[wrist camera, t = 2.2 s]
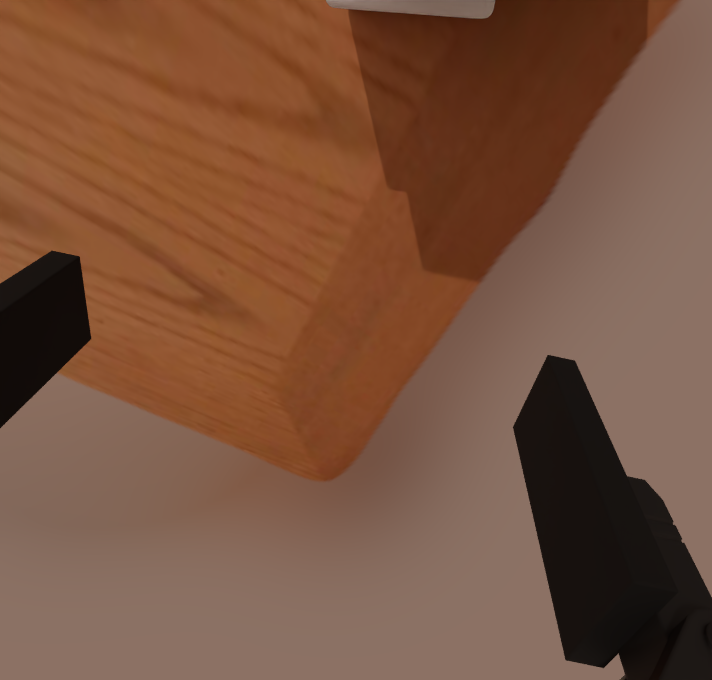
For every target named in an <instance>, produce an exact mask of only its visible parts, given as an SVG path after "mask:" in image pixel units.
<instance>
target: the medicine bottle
mask: <svg viewBox="0 0 712 680" xmlns="http://www.w3.org/2000/svg"><path fill="white" fill-rule="evenodd" d="M326 2H327V3H328V5H329V6H331V7H333V8H342V9H353V10H366V11H380V12H393V13H406V14H420V15H433V16H447V17H460V18H477V19H484V18H488V17H489V16H490V15H491V14H492V12H493V10H494V5H495V0H326Z"/></svg>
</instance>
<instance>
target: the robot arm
mask: <svg viewBox="0 0 712 680" xmlns="http://www.w3.org/2000/svg"><path fill="white" fill-rule="evenodd" d="M90 340H91V334H90V327H89V320H88V313H87V306H86V299H85V291H84V284H83V277H82V270H81V263H80V256H75V255H70V254H65V253H61V252H56V251H51V252H49V253H48V254H46V255H45V256H43V257H41V258H40V259H38V260H37V261H35V262H34V263H32V264H30V265H29V266H27V267H26V268H24V269H23V270H21V271H19V272H18V273H16V274H15V275H13V276H12V277H10V278H8V279H7V280H5V281H4V282H2V283H1V284H0V428H1V427H2V426H3V425H4V424H5V423H6V422H7V421H8V420H9V419H10V418H11V417H12V416H13V415H14V414H15V413H16V412H17V411H18V410H19V409H20V408H21V407H22V406H23V405H24V404H25V403H26V402H27V401H28V400H29V399H30V398H32V397H33V395H35V394H36V393H37V392H38V391H39V390H40V389H41V388H42V387H43V386H44V385H45V384H46V383H47V382H48V381H49V380H50V379H51V378H52V377H53V376H54V375H55V374H56V373H57V372H58V371H59V370H60V369H61V368H62V367H63V366H64V365H65V364H66V363H67V362H68V361H69V360H70V359H71V358H72V357H73V356H74V355H75V354H76V353H77V352H78V351H79V350H80V349H81V348H82V347H83V346H84V345H86V344H87V343H88V342H89V341H90ZM513 429H514V433H515V438H516V442H517V447H518V451H519V455H520V460H521V465H522V469H523V474H524V478H525V482H526V487H527V491H528V496H529V500H530V505H531V509H532V513H533V518H534V522H535V527H536V531H537V536H538V540H539V544H540V549H541V553H542V558H543V562H544V567H545V571H546V575H547V580H548V584H549V589H550V593H551V598H552V602H553V606H554V611H555V615H556V619H557V624H558V629H559V633H560V638H561V642H562V646H563V650H564V655H565V659H566V660H567V661H572V662H577V663H582V664H587V665H592V666H597V667H602V668H604V667H605V666H606V665H607V664H608V663H609V662H610V661H611V660H612V659H613V658H614V657H615V656H616V655H617V654H618V653H619V656H620V659H621V662H622V666H623V669H624V672H625V675H624V676H623V677H622V678H621V679H620V680H712V597H711V595H710V593H709V591H708V590H707V587H706V586H705V583H704V581H703V579H702V578H701V575H700V574H699V571H698V569H697V567H696V565H695V563H694V562H693V560H692V557H691V555H690V553H689V552H688V549H687V548H686V545H685V544H684V543H682V542H681V540H682V538H681V536H680V534H679V532H678V530H677V528H676V526H675V525H673V520H672V518H671V516H670V514H669V512H668V510H667V508H666V506H665V504H664V502H663V500H662V499H661V498H660V496H659V495H658V494H657V493H656V492H655V491H654V490H653V489H652V488H651V487H650V485H649V484H648V483H647V482H646V481H645V480H642V479H638V478H633V477H627V475H626V473H625V471H624V469H623V467H622V464H621V462H620V460H619V458H618V456H617V453H616V451H615V449H614V447H613V444H612V442H611V440H610V438H609V435H608V433H607V431H606V429H605V427H604V424H603V422H602V420H601V418H600V415H599V413H598V411H597V409H596V406H595V404H594V402H593V400H592V398H591V395H590V393H589V391H588V389H587V386H586V384H585V382H584V380H583V378H582V375H581V373H580V371H579V369H578V366H577V364H576V362H575V361H574V360H569V359H565V358H560V357H555V356H550V355H548V356H547V358H546V360H545V362H544V364H543V366H542V368H541V370H540V372H539V374H538V376H537V378H536V381H535V383H534V385H533V387H532V389H531V391H530V393H529V395H528V397H527V400H526V401H525V403H524V406H523V407H522V409H521V412H520V414H519V416H518V418H517V420H516V422H515V424H514V426H513Z"/></svg>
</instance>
